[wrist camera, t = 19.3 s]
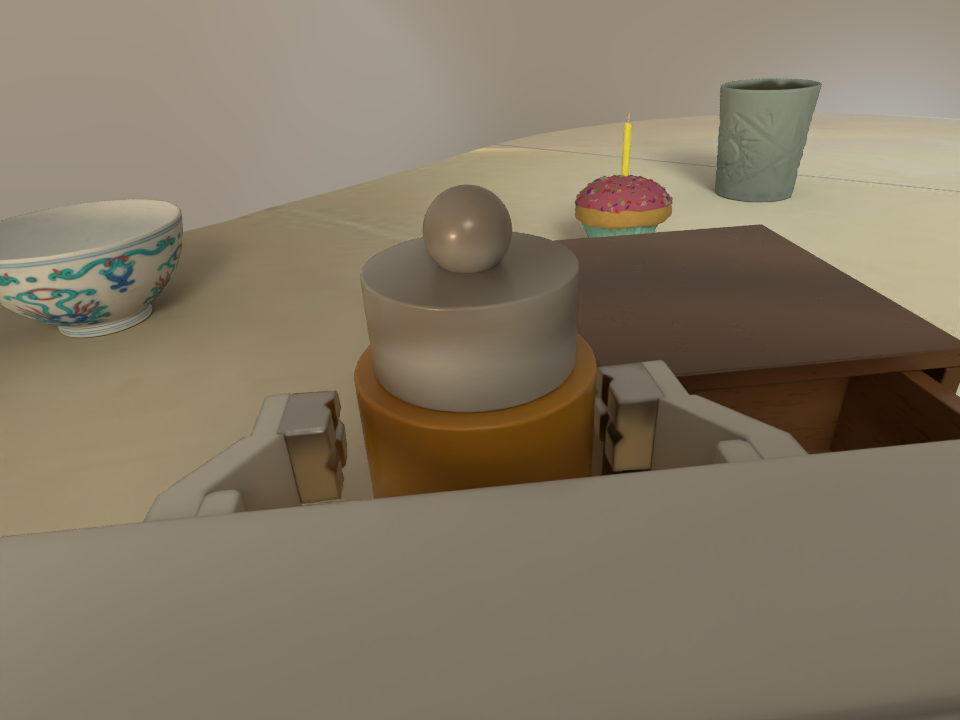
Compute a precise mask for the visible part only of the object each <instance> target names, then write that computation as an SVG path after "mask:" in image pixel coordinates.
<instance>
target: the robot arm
mask: <svg viewBox="0 0 960 720" xmlns="http://www.w3.org/2000/svg"><path fill="white" fill-rule="evenodd" d="M596 389H597V391H598V393H599V394H598V395H597V397H596V398H595V410H594V427H595V430H596V434H597V436H598V439H599V440H600V441H601V442H603V443H605V454H606V456H607V459H608V461H609V463H610V465H611V467H612V469H613V471H624V470H638V469H651V470H652V471H643V472H633V473H623V474H613V475H603V476H594V477H584V478H574V479H564V480H554V481H544V482H535V483H525V484H515V485H505V486H495V487H485V488H475V489H465V490H456V491H446V492H436V493H426V494H416V495H406V496H396V497H386V498H377V499H367V500H357V501H347V502H337V503H327V504H317V505H307V506H301V504H304V503H312V502H320V501H328V500H336V499H341V495H342V488H343V482H344V476H343V470H342V468H343V467H344V466H346V461H347V439H346V431H345V426H344V424H343V423H342V422H341V421H340V420H339V417H340V411H341V405H340V400H339V395H338V393H337V391H336V390H335V391H321V392H307V393H293V394H280V395H271V396H267V397H266V398H265V400H264V402H263V405H262V407H261V410H260V413H259V415H258V418H257V420H256V423H255V425H254V428H253V430H252V433H251V436H250V437H243V438H242V439H240V440H239V441H237V442H236V443H234V444H233V445H231V446H230V447H228V448H227V449H225V450H224V451H222V452H221V453H220V454H218V455H217V456H215V457H214V458H212V459H211V460H209V461H208V462H206V463H205V464H203V465H202V466H200V467H199V468H197V469H196V470H194V471H193V472H191V473H190V474H189V475H187V476H186V477H184V478H183V479H181V480H180V481H178V482H177V483H175V484H174V485H172V486H171V487H169V488H168V489H166V490H165V491H163V492H162V493H161V494H159V495H158V496H157V497H156V499H155V501H154V503H153V505H152V507H151V508H150V510H149V512H148V514H147V516H146V518H145V520H144V521H143V522H141V523H131V524H121V525H111V526H101V527H92V528H82V529H72V530H62V531H52V532H42V533H32V534H22V535H12V536H2V537H0V720H960V439H958V440H948V441H938V442H928V443H918V444H908V445H899V446H889V447H879V448H869V449H859V450H849V451H839V452H830V453H820V454H810V455H809V454H808V453H807V452H806V451H805V450H804V449H803V448H802V447H801V445H800V444H799V443H798V442H797V441H796V440H795V439H794V438H793V437H792V436H791V434H790V433H787V432H785V431H782V430H780V429H777V428H775V427H773V426H770V425H768V424H765V423H763V422H761V421H758V420H756V419H753V418H751V417H749V416H746V415H744V414H741V413H739V412H736V411H734V410H732V409H729V408H727V407H724V406H722V405H720V404H717V403H715V402H712V401H710V400H708V399H705V398H703V397H700V396H698V395H689V394H688V392H687V391H686V390H685V389H684V387H683V386H682V385H681V383H680V382H679V381H678V379H677V378H676V377H675V375H674V374H673V373H672V371H671V370H670V369H669V367H668V366H667V365H666V363H665V362H664V361H662V360H655V361H648V362H639V363H630V364H622V365H613V366H604V367H598V368H597V371H596Z"/></svg>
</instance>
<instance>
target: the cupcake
mask: <svg viewBox="0 0 960 720" xmlns="http://www.w3.org/2000/svg"><path fill="white" fill-rule="evenodd" d="M629 122H630V113H628V115H627V123H625V124H624V138H623V155H622V172H621V175H618V176H617V175H613V176H612V177H606V176H603V177H601V178H599V179H596V180H594V182H591V183H589V184H588V186H587V187H586V188H584V189H582V190H581V191H580V194H578V195H577V196H576V198H577V199H576V201H575V204H576V208H575V216H576V219H578V220H579V221H581V222H582V224H583V226H584V228H585V230H586V232H587V234H588V237H589V238H593V237H606V236H619V235H632V234H645V233H654V231H655V229H656V227H657V226H658V224H660V223H663V222H664V221H665V220H666V219H667V218H668V217H670V215H671V213H672V206H671V204H672V200H673V198H672V197H671V198H672V200H671V198H670V196H669V194H668V193H667V192H666V191H665V187H661V186H660V184H658V183H656V182H653V180H651V179H650V180H649V179H647V178H642V177H641V176H639V177H637V176H633V175H630V176H629V164H630V148H631V132H632V123H629Z"/></svg>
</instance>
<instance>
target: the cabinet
mask: <svg viewBox="0 0 960 720" xmlns="http://www.w3.org/2000/svg"><path fill="white" fill-rule="evenodd" d="M555 242H557V243H559V244H561V245H563V246H565V247H567V248H568V249H569V250H571V251H572V252H573V253H574V255H575V256H576V258H577V260H578V262H579V287H578V317H577V333H578V334H579V335H580V336H581V337H582V338H583V339H584V340H585V341H586V342H587V343H588V344H589V346H590V347H591V349H592V351H593V353H594V356H595V358H596V365H597V368H598V367H604V366H613V365H622V364H630V363H639V362H648V361H655V360H662V361H664V362H665V363H666V365H667V366H668V367H669V369H670V370H671V371H672V373H673V374H674V375H675V377H676V378H677V379H678V381H679V382H680V383H681V385H682V386H683V387H684V389H685V390H686V391H687V392H692V391H702V390H713V389H723V388H734V387H745V386H755V385H766V384H776V383H787V382H798V381H808V380H819V379H829V378H840V377H851V376H861V375H872V374H882V373H893V372H904V371H914V370H921V371H922V372H924V373H925V374H927V375H928V376H930V377H931V378H933V379H934V380H936V381H937V382H938V383H940V384H941V385H943V386H944V387H946V388H947V389H949V390H950V391H952V392H953V393H954V394H956V391H957V389H958V386H959V384H960V340H959V339H957V338H955V337H954V336H952V335H950V334H948V333H947V332H945V331H943V330H942V329H940V328H938V327H936V326H935V325H933V324H931V323H930V322H928V321H926V320H924V319H923V318H921V317H919V316H918V315H916V314H914V313H912V312H911V311H909V310H907V309H906V308H904V307H902V306H900V305H899V304H897V303H895V302H894V301H892V300H890V299H888V298H887V297H885V296H883V295H882V294H880V293H878V292H876V291H875V290H873V289H871V288H870V287H868V286H866V285H864V284H863V283H861V282H859V281H858V280H856V279H854V278H852V277H851V276H849V275H847V274H846V273H844V272H842V271H840V270H839V269H837V268H835V267H834V266H832V265H830V264H828V263H827V262H825V261H823V260H822V259H820V258H818V257H816V256H815V255H813V254H811V253H810V252H808V251H806V250H804V249H803V248H801V247H799V246H797V245H796V244H794V243H792V242H791V241H789V240H787V239H785V238H784V237H782V236H780V235H779V234H777V233H775V232H773V231H772V230H770V229H768V228H767V227H765V226H763V225H749V226H736V227H723V228H710V229H697V230H684V231H671V232H658V233H645V234H632V235H619V236H606V237H593V238H580V239H568V240H555ZM598 394H599V393H598V391H597V389H596V390H595V398H596V397H597V395H598ZM613 474H622V471H613V469H612V467H611V465H610V463H609V461H608V459H607V456H606V454H605V443H603V442H601V441H600V440H599V439H598V436H597V434H596V430H595V427H594V429H593V448H592V468H591V477H594V476H603V475H613Z"/></svg>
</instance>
